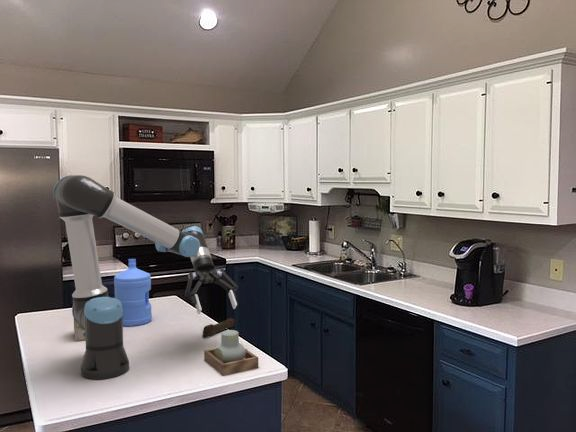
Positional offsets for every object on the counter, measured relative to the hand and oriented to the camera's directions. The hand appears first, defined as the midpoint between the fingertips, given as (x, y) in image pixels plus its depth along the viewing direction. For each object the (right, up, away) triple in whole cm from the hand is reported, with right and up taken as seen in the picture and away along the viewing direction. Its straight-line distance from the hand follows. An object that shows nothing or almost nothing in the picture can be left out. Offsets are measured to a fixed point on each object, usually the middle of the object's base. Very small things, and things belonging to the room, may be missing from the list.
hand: (217, 309), depth 178 cm
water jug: (-44, -14, +43) cm, 63 cm away
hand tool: (-3, -15, +28) cm, 32 cm away
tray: (+6, -17, -8) cm, 20 cm away
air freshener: (+5, -16, -8) cm, 19 cm away
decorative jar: (-55, -15, +24) cm, 62 cm away
